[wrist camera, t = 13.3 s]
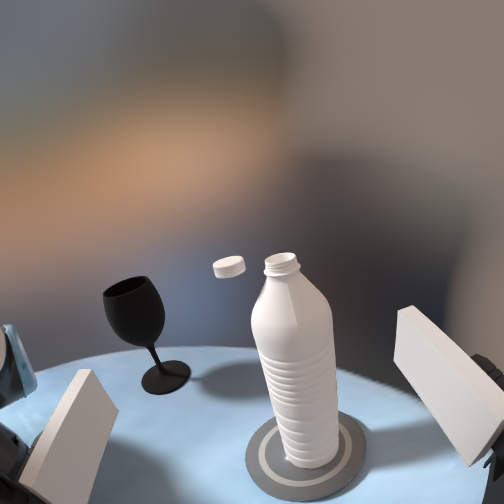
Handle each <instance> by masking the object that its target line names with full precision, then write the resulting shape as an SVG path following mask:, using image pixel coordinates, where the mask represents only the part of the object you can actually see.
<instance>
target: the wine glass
mask: <svg viewBox="0 0 504 504" xmlns="http://www.w3.org/2000/svg"><path fill="white" fill-rule="evenodd" d="M103 302H104V308H105V312H106V316H107V319H108V321H109V323H110V325H111V327H112V329H113V330H114V332H115V333H116V334H117V335H118V336H119V337H120V338H121V339H123V340H124V341H126V342H128V343H130V344H133V345H136V346H142V347H146V348H147V349H148V350H149V352H150V353H151V355H152V357H153V359H154V361H155V363H156V365H155V366H153V367H152V368H150V369H149V370H148V371H147V372H146V373H145V374H144V376H143V378H142V382H141V383H142V387H143V389H144V390H145V391H146V392H148V393H151V394H157V395H160V394H166V393H169V392H172V391H174V390H176V389H178V388H179V387H181V386H182V385H183V384H184V383H185V382H186V381H187V379H188V377H189V374H190V370H189V367H188V366H187V365H186V364H185V363H184V362H181V361H176V360H171V361H165V362H162V363H161V362H160V360H159V358H158V356H157V353H156V351H155V347H154V342H155V341H156V340H157V339H158V337H159V336H160V334H161V332H162V330H163V327H164V323H165V322H164V321H165V311H164V307H163V303H162V300H161V298H160V295H159V294H158V292H157V290H156V288H155V287H154V285H153V284H152V282H151V281H150V279H149V278H148V277H146V276H137V277H133V278H129V279H126V280H123V281H121V282H118V283H116V284H114V285H112V286H111V287H109V288H108V289H107V290H105V292H104V293H103Z"/></svg>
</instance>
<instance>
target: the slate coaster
mask: <svg viewBox="0 0 504 504" xmlns="http://www.w3.org/2000/svg"><path fill="white" fill-rule="evenodd" d="M338 429H339V434H338V436H339V448H338V451H337V454H336V455H335V457H334V458H333V459H332V460H331V461H330V462H329V463H327V464H325V465H323V466H321V467H318V468H313V469H308V468H300V467H297V466H295V465H294V464H292V463H291V462H290V461H289V460H288V458H287V456H286V453H285V450H284V445H283V442H282V438H281V435H280V432H279V428H278V424H277V421H276V416H275V417H274V418H272V419H270V420H269V421H267V422H266V423H264V424H263V425H262V426H261V427H260V428H259V429H258V430H257V431H256V432H255V434H254V435H253V436H252V438H251V440H250V442H249V444H248V446H247V450H246V457H245V461H246V467H247V470H248V472H249V474H250V476H251V478H252V479H253V481H254V482H255V484H256V485H257V486H258V487H259V488H260V489H261V490H262V491H264V492H265V493H267V494H268V495H271V496H273V497H275V498H278V499H281V500H285V501H291V502H309V501H314V500H319V499H322V498H325V497H328V496H330V495H332V494H334V493H336V492H338V491H339V490H341V489H342V488H344V487H345V486H346V485H348V484H349V483H350V482H351V481H352V480H353V479H354V477H355V476H356V475H357V473H358V472H359V470H360V468H361V466H362V464H363V461H364V456H365V450H366V442H365V437H364V434H363V431H362V430H361V428H360V426H359V425H358V424H357V422H356V421H354V420H353V419H352V418H351V417H349V416H348V415H346V414H344V413H343V412H340V411H338Z"/></svg>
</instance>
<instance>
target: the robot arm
mask: <svg viewBox="0 0 504 504" xmlns="http://www.w3.org/2000/svg"><path fill="white" fill-rule="evenodd" d="M394 362H395V363H396V365H397V366H398V367H399V369H400V370H401V371H402V373H403V374H404V376H405V377H406V378H407V380H408V381H409V382H410V384H411V385H412V386H413V388H414V389H415V391H416V392H417V393H418V395H419V396H420V398H421V399H422V401H423V402H424V403H425V405H426V406H427V408H428V409H429V410H430V412H431V413H432V415H433V416H434V418H435V419H436V421H437V422H438V423H439V425H440V426H441V428H442V429H443V431H444V432H445V434H446V435H447V437H448V438H449V440H450V441H451V443H452V444H453V446H454V447H455V449H456V450H457V452H458V454H459V455H460V457H461V458H462V460H463V461H464V463H465V464H466V466H467V468H469V467H470V466H472V465H473V464H474V463H476V462H477V461H479V460H480V459H481V458H483V457H484V456H485V455H486V453H487V452H488V451H489V450H490V448H492V450H493V451H494V452H493V453H492V455H491V456H490V457H489V458H488V460H487V461H486V462H485V464H484V467H483V468H486V467H487V466H488V465H489V463H490V462H491V464H490V467H489V468H490V470H489V475H488V480H487V485H486V490H485V494H484V498H483V502H482V504H504V375H503V373H502V372H501V371H500V370H499V369H497V368H496V366H495V365H494V364H493V363H491V361H490V360H488V359H487V358H485V357H483V356H481V355H478V354H475V355H473V356H472V357H469V356H468V355H467V354H466V353H465V352H463V350H461V349H460V348H459V347H458V346H457V345H456V344H455V343H454V342H453V341H452V340H451V339H450V338H449V337H448V336H447V335H446V334H444V333H443V332H442V331H441V330H440V329H439V328H438V327H437V326H435V324H433V323H432V322H431V321H430V320H429V319H428V318H427V317H426V316H424V315H423V314H422V313H421V312H420V311H419V310H418V309H417V308H415V307H414V306H410V307H407V308H404V309H402V310H399V311H398V321H397V335H396V345H395V354H394ZM36 389H37V379H36V377H35V374H34V372H33V369H32V367H31V364H30V362H29V360H28V357H27V355H26V353H25V350H24V349H23V346H22V343H21V341H20V339H19V336H18V334H17V332H16V330H15V328H14V327H13V325H11V324H8V325H3V327H2V328H1V327H0V409H2V408H4V407H6V406H8V405H10V404H12V403H14V402H16V401H18V400H20V399H22V398H23V397H24V398H26V397H27V395H29V394H30V393H32V392H34V391H35V390H36ZM118 412H119V411H118V409H117V408H116V406H115V405H114V403H113V402H112V400H111V399H110V397H109V396H108V394H107V393H106V391H105V390H104V388H103V387H102V385H101V383H100V382H99V380H98V379H97V377H96V375H95V374H94V372H93V370H92V369H79V371H78V372H77V374H76V376H75V377H74V379H73V380H72V382H71V384H70V385H69V387H68V389H67V390H66V392H65V394H64V395H63V397H62V399H61V400H60V402H59V404H58V406H57V407H56V409H55V411H54V413H53V414H52V416H51V418H50V420H49V422H48V423H47V425H46V427H45V429H44V430H43V431H42V432H41V433H40V434H39V435H38V436H37V437H36V438H35V440H34V442H33V444H32V446H31V448H30V449H29V451H28V453H27V448H26V445H25V443H24V442H23V441H22V440H21V438H20V437H19V436H18V435H17V434H16V433H15V432H13V431H12V430H11V429H9V428H8V427H6V426H5V425H4V424H2V423H1V422H0V504H88V501H89V497H90V494H91V491H92V487H93V484H94V481H95V478H96V475H97V471H98V468H99V465H100V462H101V459H102V456H103V453H104V450H105V447H106V445H107V442H108V439H109V436H110V433H111V431H112V428H113V425H114V422H115V420H116V417H117V414H118ZM27 454H28V455H27Z"/></svg>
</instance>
